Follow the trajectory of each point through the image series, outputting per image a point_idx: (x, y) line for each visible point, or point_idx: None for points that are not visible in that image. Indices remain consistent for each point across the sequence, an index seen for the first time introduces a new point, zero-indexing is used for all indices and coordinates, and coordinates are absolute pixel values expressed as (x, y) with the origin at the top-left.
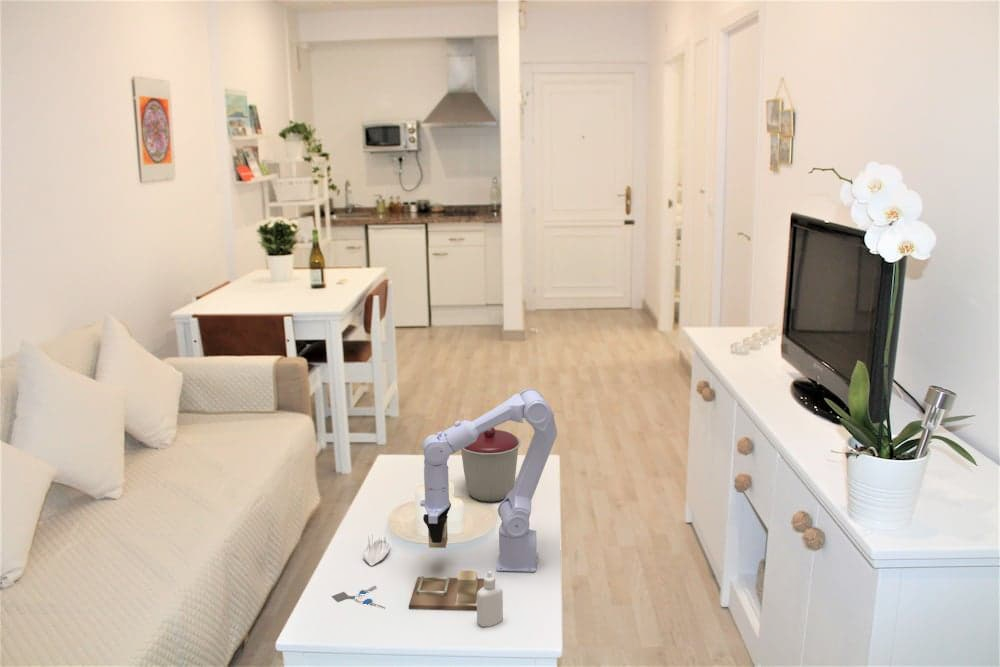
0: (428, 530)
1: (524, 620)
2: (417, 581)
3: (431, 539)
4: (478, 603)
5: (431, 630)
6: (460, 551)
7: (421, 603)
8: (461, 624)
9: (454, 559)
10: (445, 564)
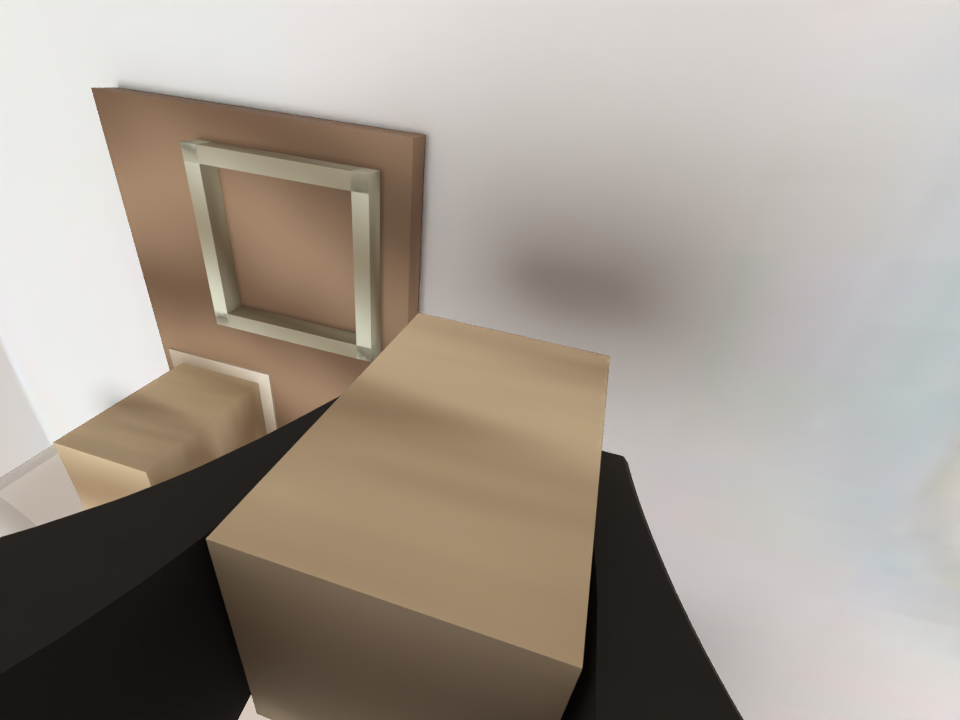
0: (292, 448)
1: None
2: (351, 138)
3: (331, 400)
4: (16, 468)
5: (16, 220)
6: (795, 452)
7: (130, 173)
8: (102, 347)
9: (687, 402)
10: (630, 340)
